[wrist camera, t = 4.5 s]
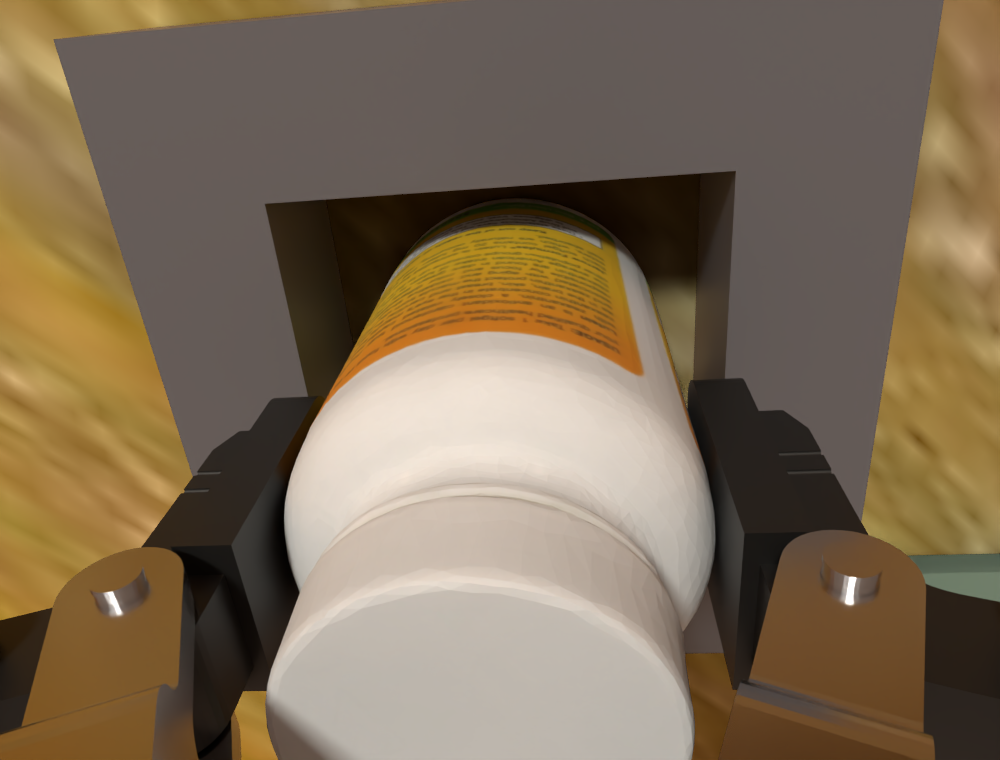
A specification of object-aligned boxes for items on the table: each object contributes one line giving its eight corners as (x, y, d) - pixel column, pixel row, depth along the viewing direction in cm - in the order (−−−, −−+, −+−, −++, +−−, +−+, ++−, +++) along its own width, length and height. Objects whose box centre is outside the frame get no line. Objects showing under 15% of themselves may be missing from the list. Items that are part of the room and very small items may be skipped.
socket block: (866, -40, 12) (950, -45, 10) (798, 551, 18) (840, 651, 15) (152, 28, 14) (53, 39, 11) (293, 562, 19) (250, 657, 16)
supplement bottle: (332, 305, 16) (62, 699, 7) (540, 131, 14) (514, 378, 5) (502, 479, 17) (449, 968, 9) (707, 345, 16) (893, 796, 7)
